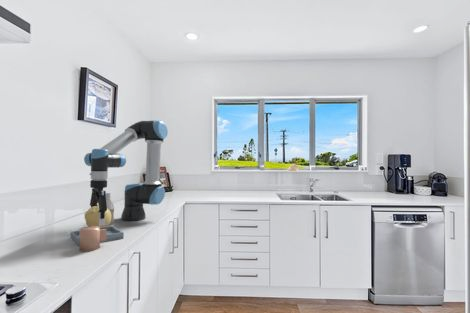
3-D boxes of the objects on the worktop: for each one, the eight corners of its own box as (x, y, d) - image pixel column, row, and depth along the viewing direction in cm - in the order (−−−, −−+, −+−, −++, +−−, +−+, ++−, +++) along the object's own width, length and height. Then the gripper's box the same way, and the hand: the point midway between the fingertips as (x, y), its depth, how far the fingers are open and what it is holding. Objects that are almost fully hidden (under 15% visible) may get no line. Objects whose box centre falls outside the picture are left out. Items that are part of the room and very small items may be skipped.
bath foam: (113, 230, 152) (114, 194, 152) (99, 231, 149) (100, 194, 149) (113, 227, 158) (114, 192, 158) (99, 228, 155) (100, 192, 155)
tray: (112, 231, 149) (112, 225, 149) (123, 238, 137) (123, 232, 137) (70, 237, 136) (70, 231, 136) (78, 246, 124) (78, 239, 124)
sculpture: (89, 224, 141) (90, 203, 141) (113, 224, 143) (114, 203, 143) (80, 230, 130) (81, 207, 130) (107, 230, 132) (107, 207, 132)
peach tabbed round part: (77, 247, 122) (77, 227, 122) (103, 243, 129) (103, 224, 129) (81, 252, 116) (82, 231, 116) (108, 247, 123) (109, 227, 123)
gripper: (84, 178, 143) (82, 219, 143) (98, 181, 125) (96, 228, 125) (99, 177, 148) (98, 217, 148) (115, 181, 130) (113, 226, 130)
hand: (97, 222), depth 136 cm, fingers closed on sculpture, 12 cm apart
